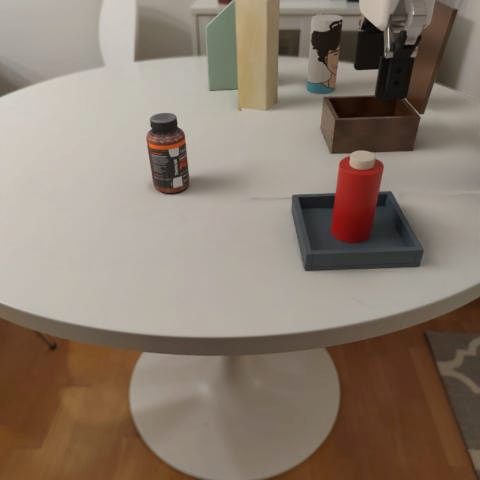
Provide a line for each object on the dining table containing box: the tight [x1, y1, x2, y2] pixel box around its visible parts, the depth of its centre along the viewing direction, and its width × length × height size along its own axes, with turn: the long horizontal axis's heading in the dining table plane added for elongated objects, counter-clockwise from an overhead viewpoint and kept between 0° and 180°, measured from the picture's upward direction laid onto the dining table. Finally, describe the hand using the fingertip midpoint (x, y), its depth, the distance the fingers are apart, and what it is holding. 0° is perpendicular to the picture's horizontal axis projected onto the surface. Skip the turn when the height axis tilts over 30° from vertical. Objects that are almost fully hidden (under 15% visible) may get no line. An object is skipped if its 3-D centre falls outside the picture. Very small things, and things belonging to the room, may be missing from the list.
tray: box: [291, 190, 425, 271], centre depth 62 cm, size 15×15×3 cm
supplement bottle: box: [145, 112, 190, 194], centre depth 71 cm, size 6×6×11 cm
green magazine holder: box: [204, 0, 238, 91], centre depth 107 cm, size 16×8×20 cm, turn 96°
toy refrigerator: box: [235, 0, 281, 112], centre depth 95 cm, size 8×7×21 cm
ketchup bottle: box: [331, 151, 385, 243], centre depth 59 cm, size 5×5×11 cm
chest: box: [320, 94, 422, 155], centre depth 84 cm, size 15×12×7 cm
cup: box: [306, 13, 344, 95], centre depth 104 cm, size 7×7×15 cm
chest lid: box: [406, 0, 459, 115], centre depth 76 cm, size 15×12×1 cm
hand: (377, 82), depth 50 cm, fingers open, 9 cm apart
